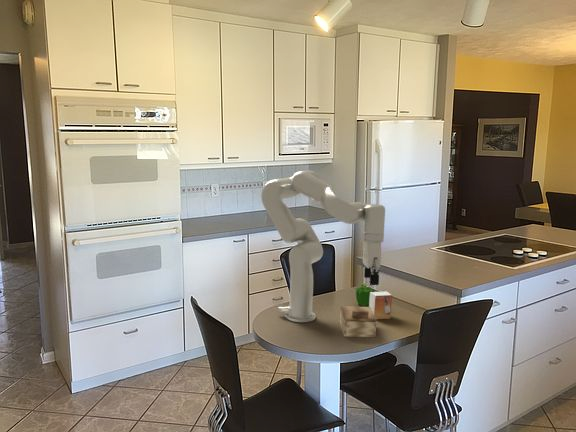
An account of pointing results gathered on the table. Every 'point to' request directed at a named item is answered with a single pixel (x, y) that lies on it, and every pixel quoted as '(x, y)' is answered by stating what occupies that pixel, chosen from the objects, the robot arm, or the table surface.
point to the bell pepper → (363, 295)
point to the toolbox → (357, 328)
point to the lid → (357, 313)
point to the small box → (381, 304)
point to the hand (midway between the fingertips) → (371, 281)
